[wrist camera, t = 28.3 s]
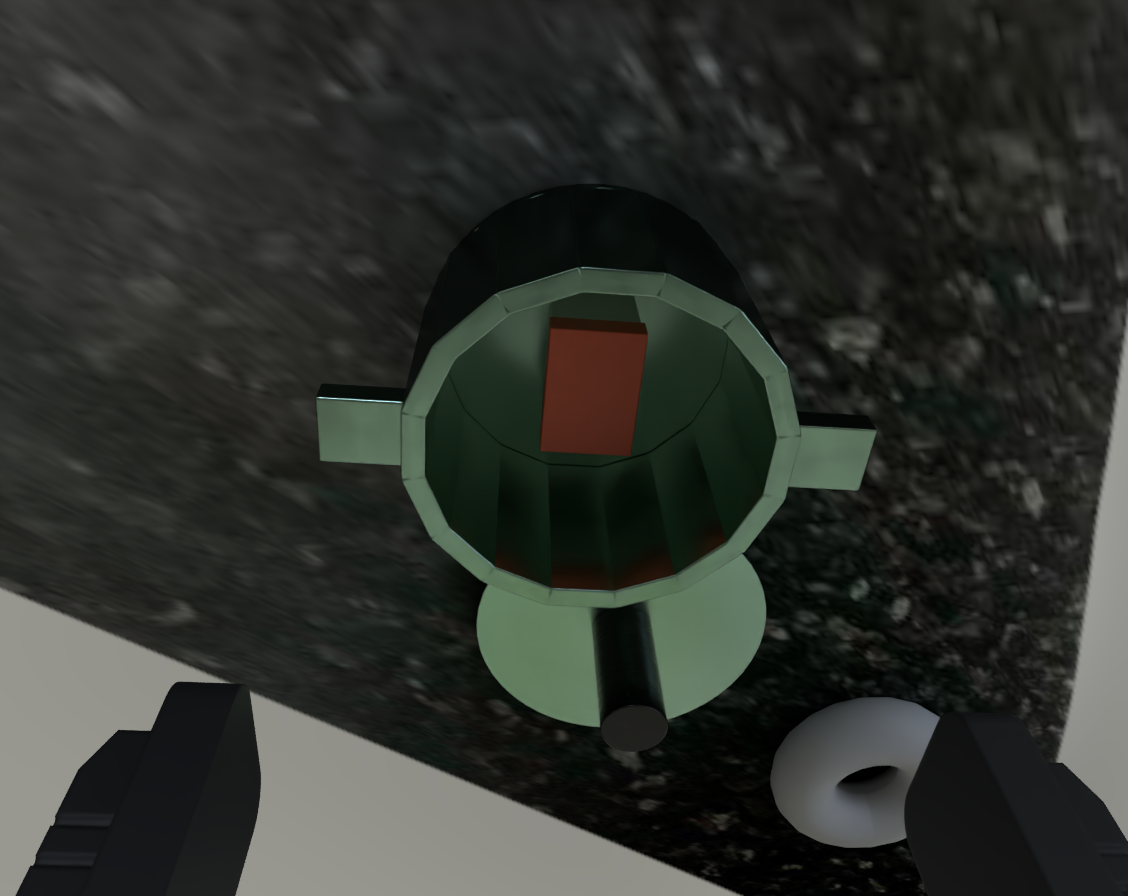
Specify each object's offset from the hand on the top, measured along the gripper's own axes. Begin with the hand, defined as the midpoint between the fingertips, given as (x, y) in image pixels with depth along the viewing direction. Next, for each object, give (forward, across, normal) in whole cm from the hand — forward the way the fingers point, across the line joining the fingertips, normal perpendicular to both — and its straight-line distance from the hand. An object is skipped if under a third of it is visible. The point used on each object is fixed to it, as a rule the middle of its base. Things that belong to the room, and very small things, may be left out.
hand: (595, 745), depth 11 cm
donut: (+26, -19, +30) cm, 44 cm away
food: (+25, -2, +7) cm, 26 cm away
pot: (+26, -2, +7) cm, 27 cm away
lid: (+25, -5, +21) cm, 33 cm away
